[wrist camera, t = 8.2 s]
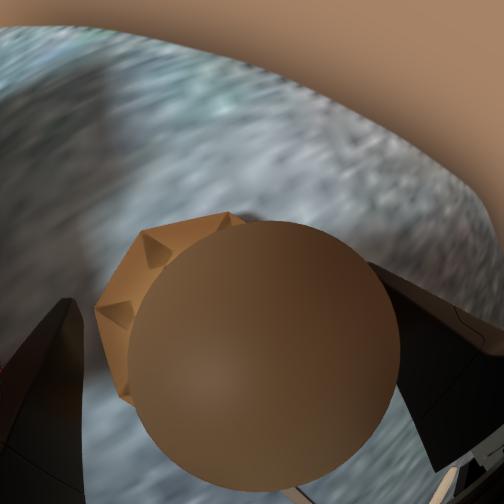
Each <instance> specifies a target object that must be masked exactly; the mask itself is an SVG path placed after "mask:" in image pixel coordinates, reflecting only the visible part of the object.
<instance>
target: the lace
mask: <svg viewBox="0 0 504 504" xmlns="http://www.w3.org/2000/svg"><path fill="white" fill-rule="evenodd" d="M280 491H281V492H282V493H283V494H284V495H285V496H287V497H288V498H289V499H290V500H291V501H292V502H293V503H294V504H312V503H311V502H310V501H309V500H308V499H307V498H306V497H305V496H303V495H302V494H301V493H300V492H299V491H298V490H297V489H296V488H295V487H293V488H289V489H285V490H280Z"/></svg>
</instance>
